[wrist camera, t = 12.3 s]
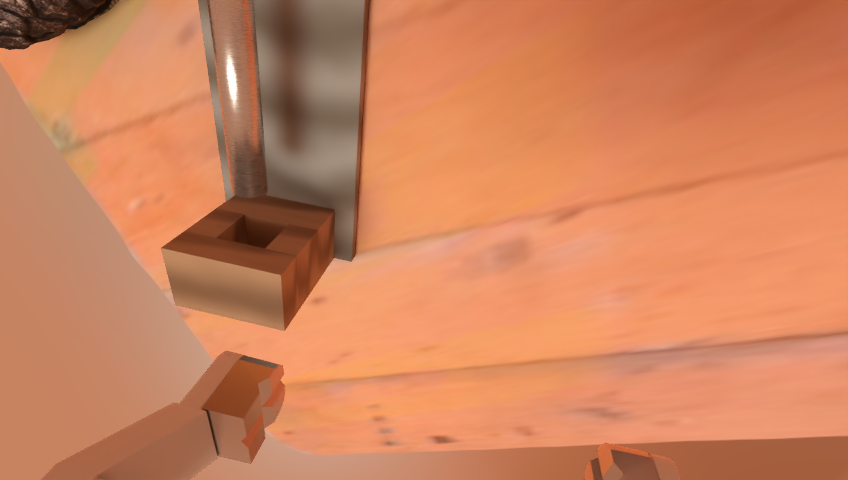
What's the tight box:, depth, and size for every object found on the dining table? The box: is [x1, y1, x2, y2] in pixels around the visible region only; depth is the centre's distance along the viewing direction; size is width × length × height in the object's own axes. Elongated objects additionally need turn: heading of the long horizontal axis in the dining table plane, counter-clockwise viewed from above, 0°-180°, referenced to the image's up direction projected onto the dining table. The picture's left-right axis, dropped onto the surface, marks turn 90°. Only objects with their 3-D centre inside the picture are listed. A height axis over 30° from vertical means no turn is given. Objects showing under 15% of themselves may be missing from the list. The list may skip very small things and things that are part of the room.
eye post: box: [161, 0, 369, 331], centre depth 31 cm, size 32×14×13 cm, turn 172°
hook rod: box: [207, 0, 268, 198], centre depth 29 cm, size 21×3×7 cm, turn 172°
